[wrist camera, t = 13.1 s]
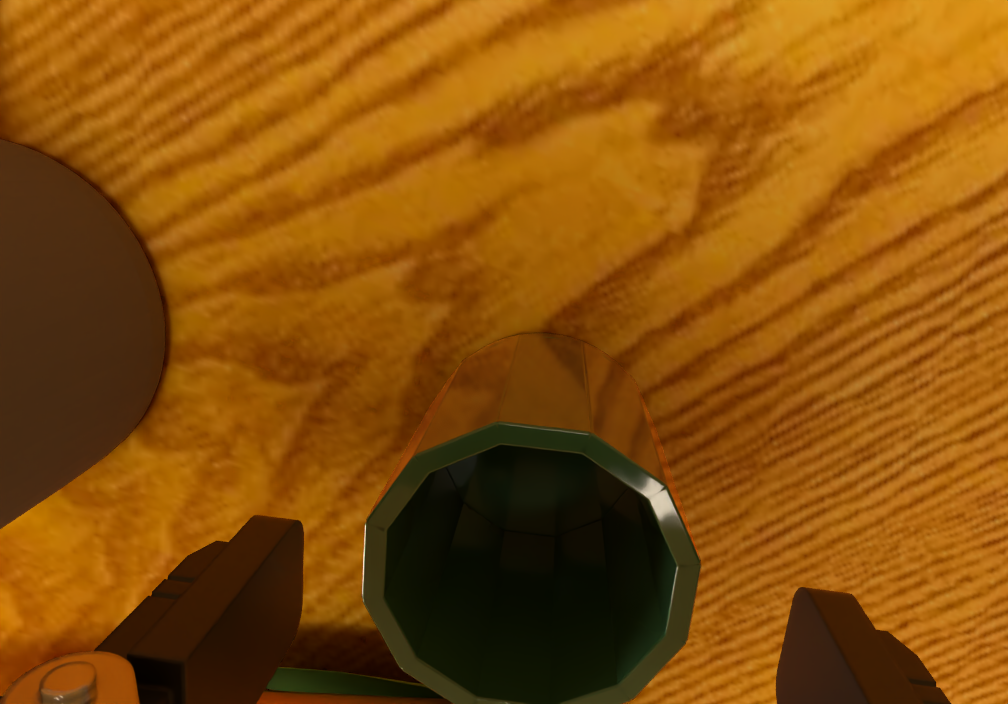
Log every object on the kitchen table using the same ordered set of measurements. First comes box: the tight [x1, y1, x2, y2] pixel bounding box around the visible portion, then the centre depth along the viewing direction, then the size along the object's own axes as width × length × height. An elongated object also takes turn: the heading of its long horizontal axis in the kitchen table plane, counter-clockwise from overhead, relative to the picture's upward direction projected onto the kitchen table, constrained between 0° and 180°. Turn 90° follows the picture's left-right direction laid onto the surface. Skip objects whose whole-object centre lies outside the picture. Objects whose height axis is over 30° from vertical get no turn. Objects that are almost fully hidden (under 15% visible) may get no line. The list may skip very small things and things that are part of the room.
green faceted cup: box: [362, 333, 701, 704], centre depth 15 cm, size 6×6×6 cm
